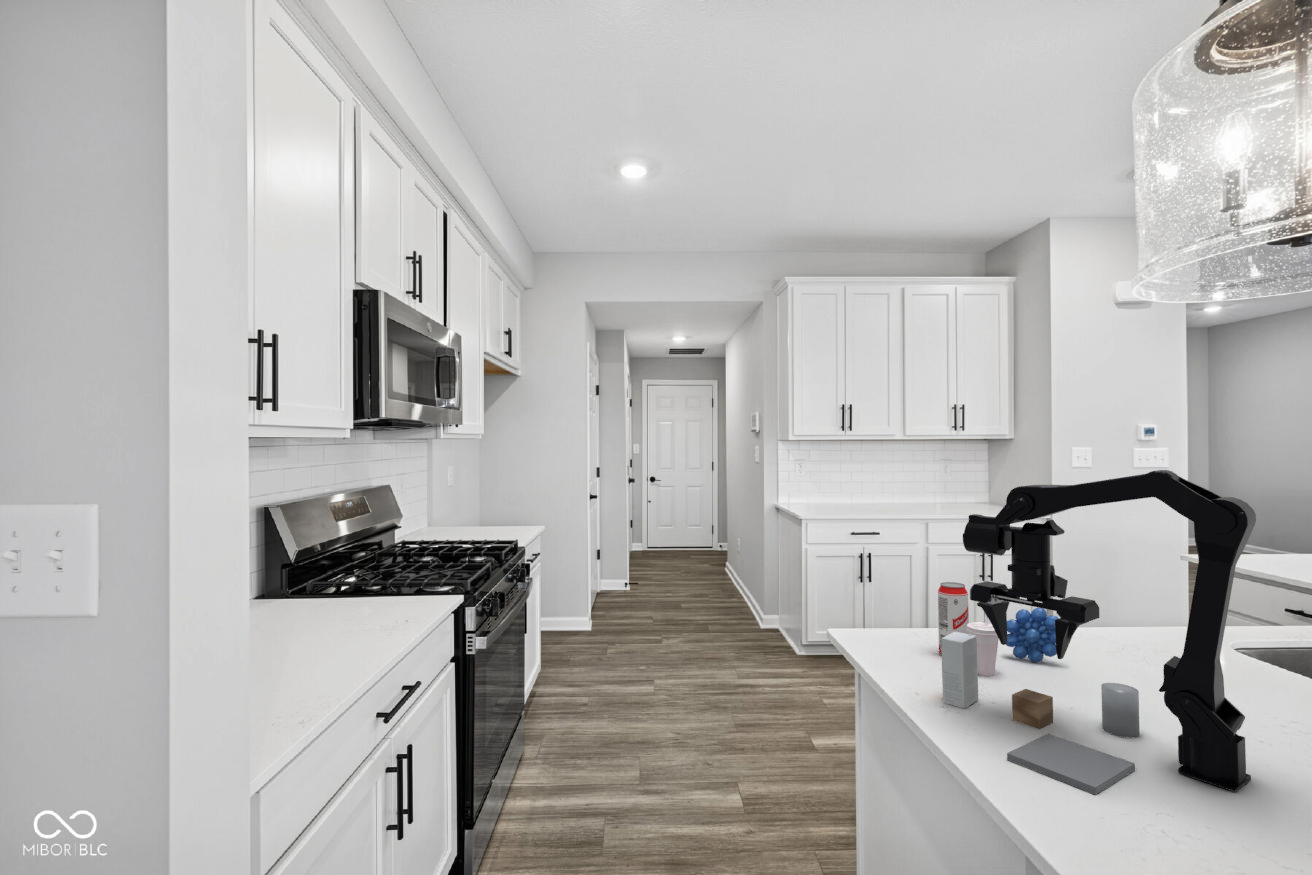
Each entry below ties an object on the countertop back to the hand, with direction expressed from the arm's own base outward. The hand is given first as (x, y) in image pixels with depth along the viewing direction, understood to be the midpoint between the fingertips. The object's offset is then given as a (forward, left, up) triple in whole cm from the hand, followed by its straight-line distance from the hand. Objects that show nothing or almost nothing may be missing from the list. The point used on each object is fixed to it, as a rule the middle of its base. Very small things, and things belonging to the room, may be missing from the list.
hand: (1031, 651), depth 111 cm
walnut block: (+1, -1, -12) cm, 12 cm away
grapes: (+17, -33, -13) cm, 39 cm away
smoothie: (+19, -17, -12) cm, 28 cm away
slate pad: (-10, +10, -12) cm, 19 cm away
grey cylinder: (-9, -9, -12) cm, 18 cm away
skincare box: (+13, +1, -13) cm, 18 cm away
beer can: (+29, -22, -13) cm, 38 cm away
